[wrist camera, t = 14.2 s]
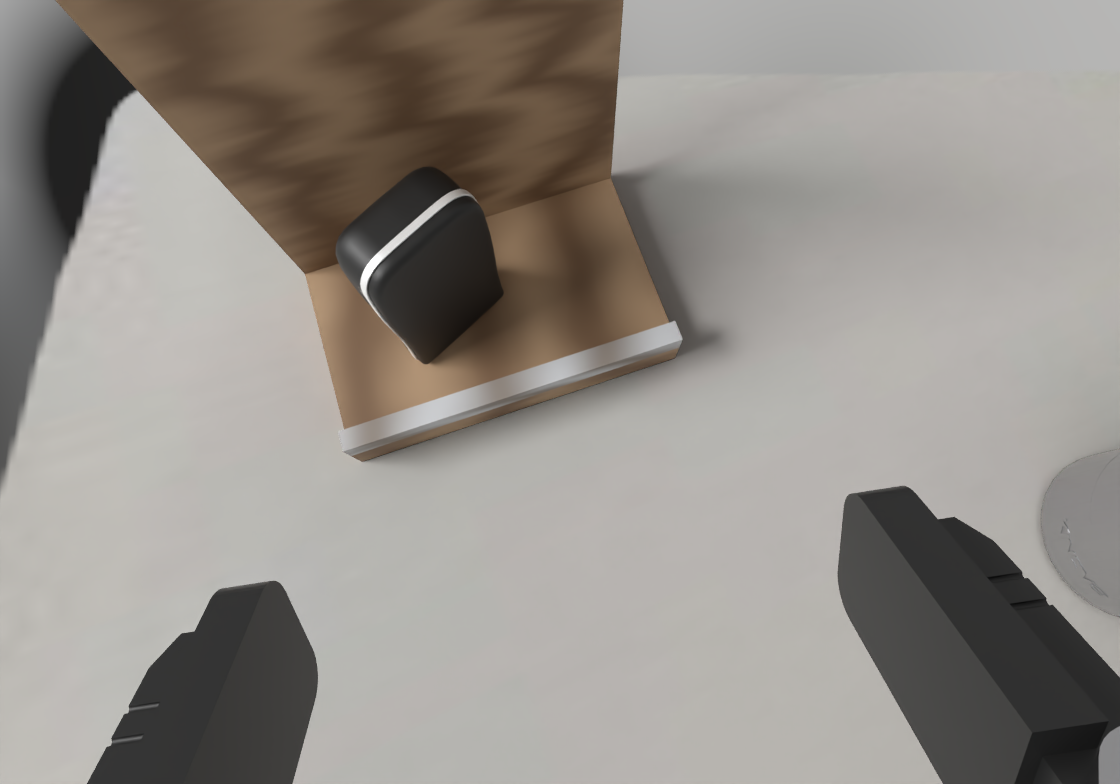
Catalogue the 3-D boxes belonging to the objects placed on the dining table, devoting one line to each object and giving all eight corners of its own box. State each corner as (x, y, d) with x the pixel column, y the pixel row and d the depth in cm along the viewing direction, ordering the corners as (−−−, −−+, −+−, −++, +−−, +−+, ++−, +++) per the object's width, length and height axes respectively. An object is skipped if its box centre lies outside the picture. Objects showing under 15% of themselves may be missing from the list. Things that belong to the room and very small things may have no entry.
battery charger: (467, 253, 42) (426, 138, 31) (509, 293, 41) (483, 189, 30) (382, 329, 41) (308, 237, 30) (424, 371, 40) (364, 293, 29)
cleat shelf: (601, 175, 45) (621, -244, 22) (674, 358, 42) (789, 86, 19) (311, 265, 44) (15, -75, 21) (362, 461, 41) (73, 309, 18)
